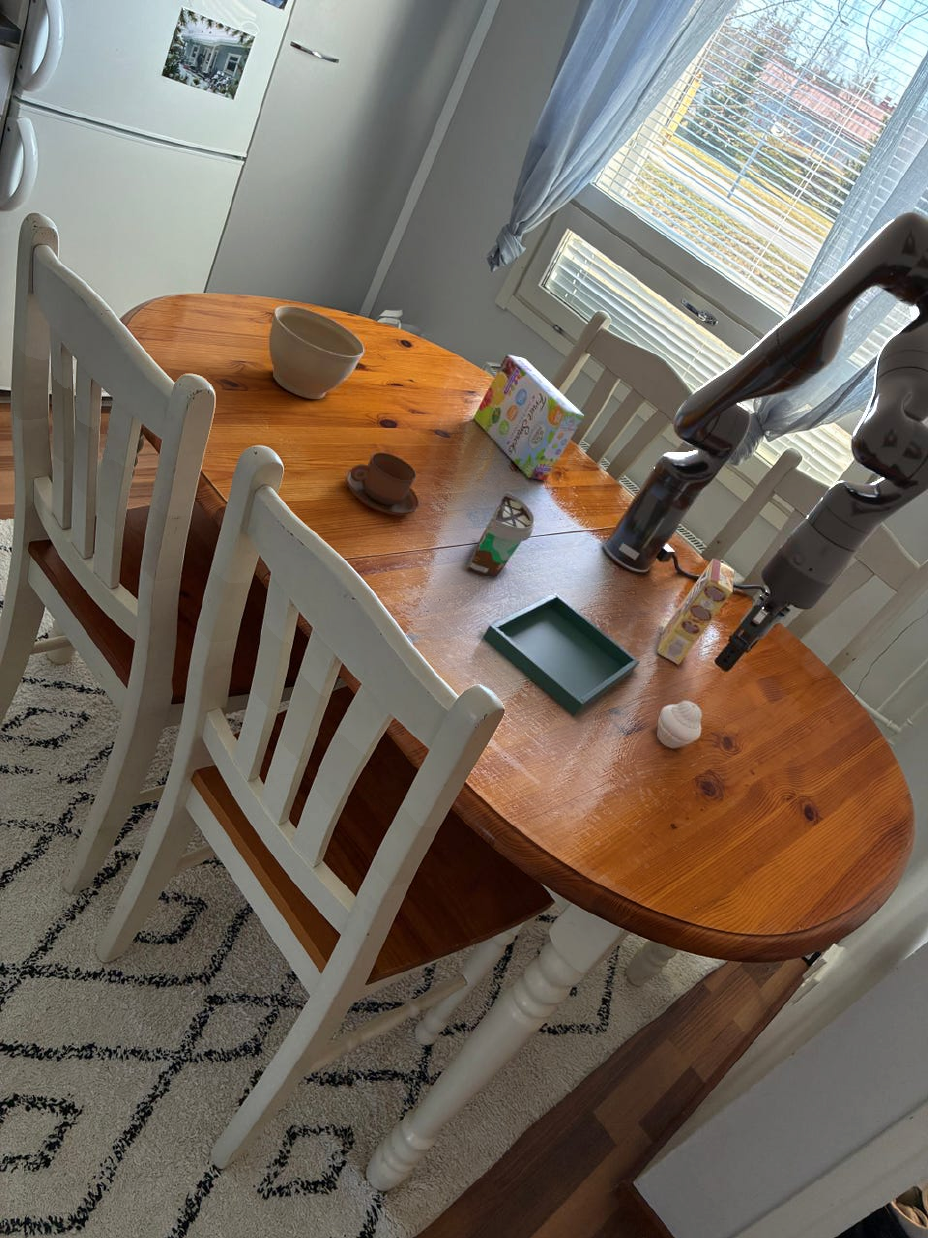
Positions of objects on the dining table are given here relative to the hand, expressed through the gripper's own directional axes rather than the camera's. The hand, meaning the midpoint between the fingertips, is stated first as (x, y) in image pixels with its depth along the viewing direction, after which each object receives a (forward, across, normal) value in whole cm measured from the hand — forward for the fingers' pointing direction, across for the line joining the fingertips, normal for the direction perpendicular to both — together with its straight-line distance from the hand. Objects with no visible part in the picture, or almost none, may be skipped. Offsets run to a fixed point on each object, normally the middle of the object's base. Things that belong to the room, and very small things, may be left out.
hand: (731, 657), depth 123 cm
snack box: (+17, +47, +61) cm, 79 cm away
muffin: (+16, 0, 0) cm, 16 cm away
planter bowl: (+17, +12, +88) cm, 90 cm away
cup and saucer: (+16, -1, +57) cm, 59 cm away
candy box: (+16, +23, +10) cm, 30 cm away
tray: (+16, -1, +19) cm, 25 cm away
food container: (+16, +6, +37) cm, 41 cm away
